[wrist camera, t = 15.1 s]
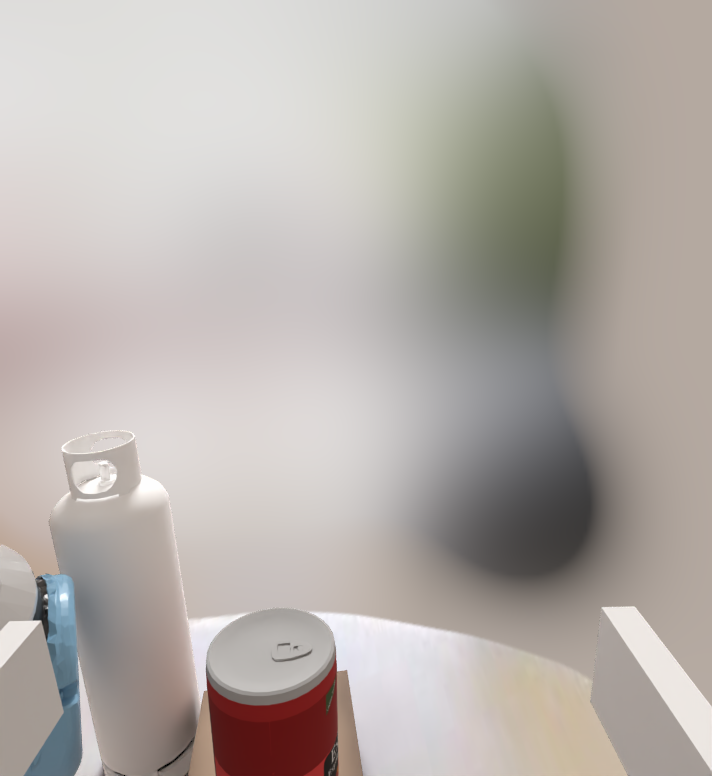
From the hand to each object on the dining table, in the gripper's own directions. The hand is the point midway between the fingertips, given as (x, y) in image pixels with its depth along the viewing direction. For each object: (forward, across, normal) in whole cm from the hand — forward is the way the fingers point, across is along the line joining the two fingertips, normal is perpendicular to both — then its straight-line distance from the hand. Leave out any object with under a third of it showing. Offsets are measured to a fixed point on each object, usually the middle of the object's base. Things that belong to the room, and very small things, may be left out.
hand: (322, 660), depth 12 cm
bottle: (+23, -18, -32) cm, 43 cm away
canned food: (+15, -5, -26) cm, 30 cm away
